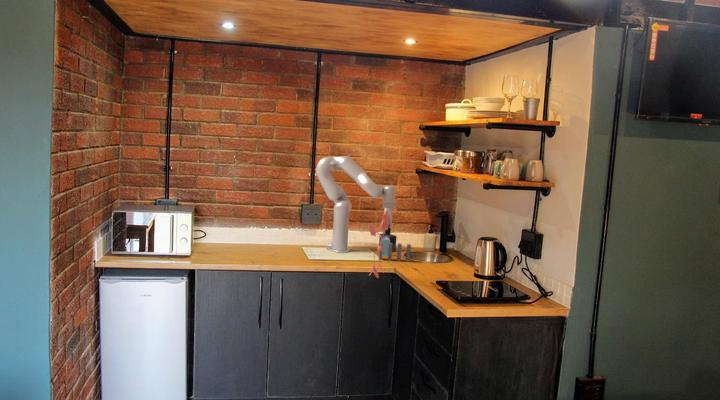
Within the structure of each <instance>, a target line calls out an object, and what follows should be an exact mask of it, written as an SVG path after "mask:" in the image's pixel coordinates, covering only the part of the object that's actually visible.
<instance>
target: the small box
mask: <svg viewBox="0 0 720 400" xmlns="http://www.w3.org/2000/svg"><path fill="white" fill-rule="evenodd" d="M379 234H380V235H381V236H382V239H389V240H390V243H392V253H395V252H396V251H397V239H398V238H397V235H396V234H391V233H390V235H385V234H383V233H379ZM378 238H379V239H378V241H379V243H378V245H379V244H380V242H381V237H380V236H379V237H378ZM396 253H397V252H396Z"/></svg>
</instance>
